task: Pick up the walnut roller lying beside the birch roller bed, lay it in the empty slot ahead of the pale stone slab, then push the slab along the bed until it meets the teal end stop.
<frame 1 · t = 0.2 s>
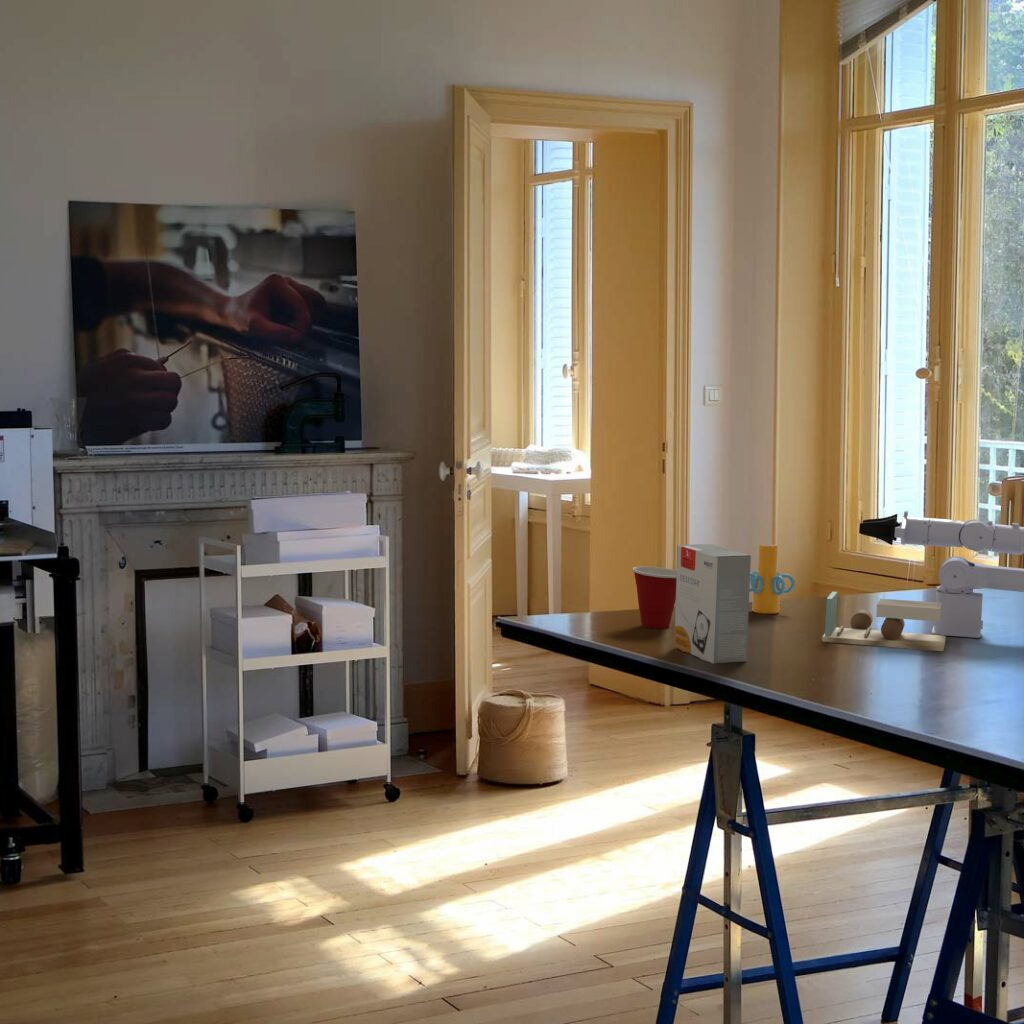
hand: (860, 526, 297), 21 cm above the table, tool horizontal, fingers open, 7 cm apart
cylinder: (765, 612, 315), on the table
hard drive box: (709, 656, 265), on the table
roller bed: (884, 641, 283), on the table
plastic cup: (656, 627, 293), on the table
roller: (861, 630, 295), on the table
slab: (909, 609, 280), point 7 cm above the table, slide at 0.0 cm
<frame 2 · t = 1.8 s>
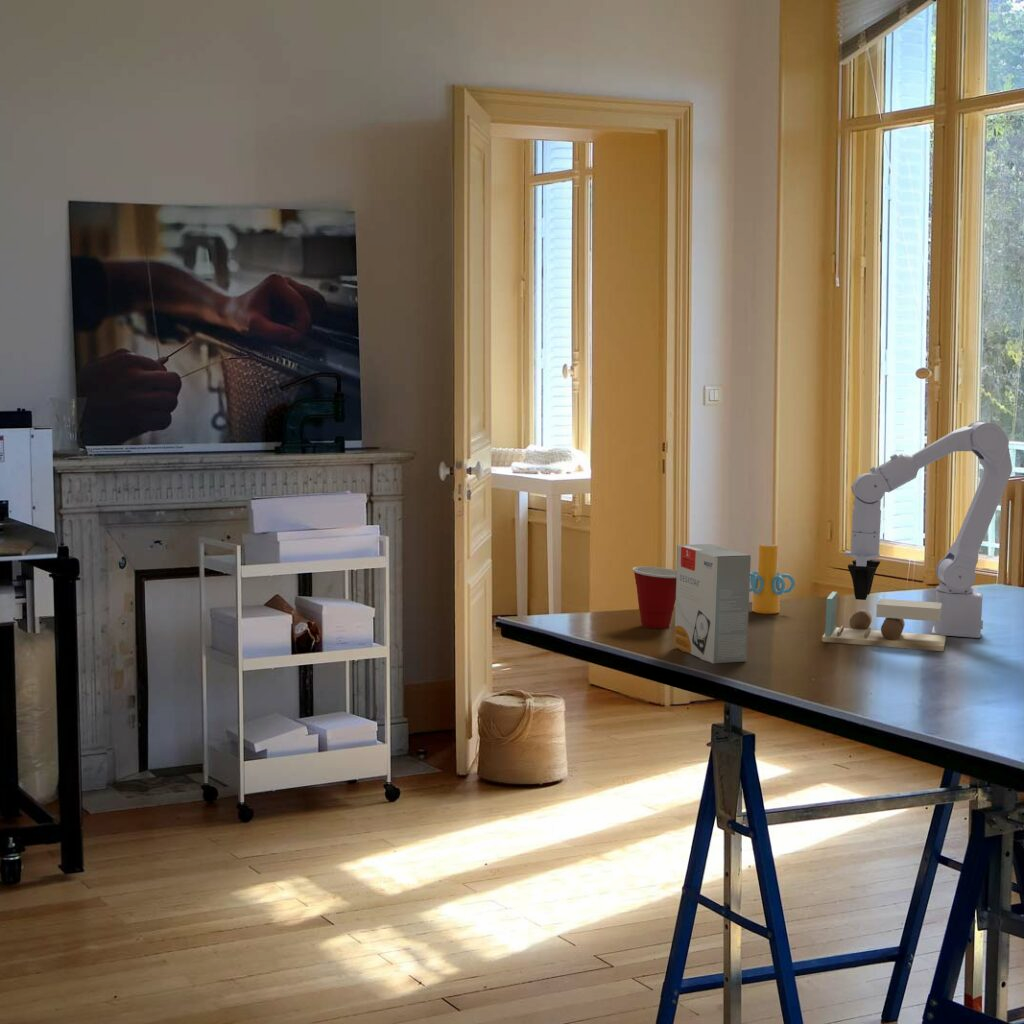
hand: (862, 596, 294), 7 cm above the table, tool pointing down, fingers open, 7 cm apart
roller: (861, 630, 295), on the table, tilted 5°
everything else where it was.
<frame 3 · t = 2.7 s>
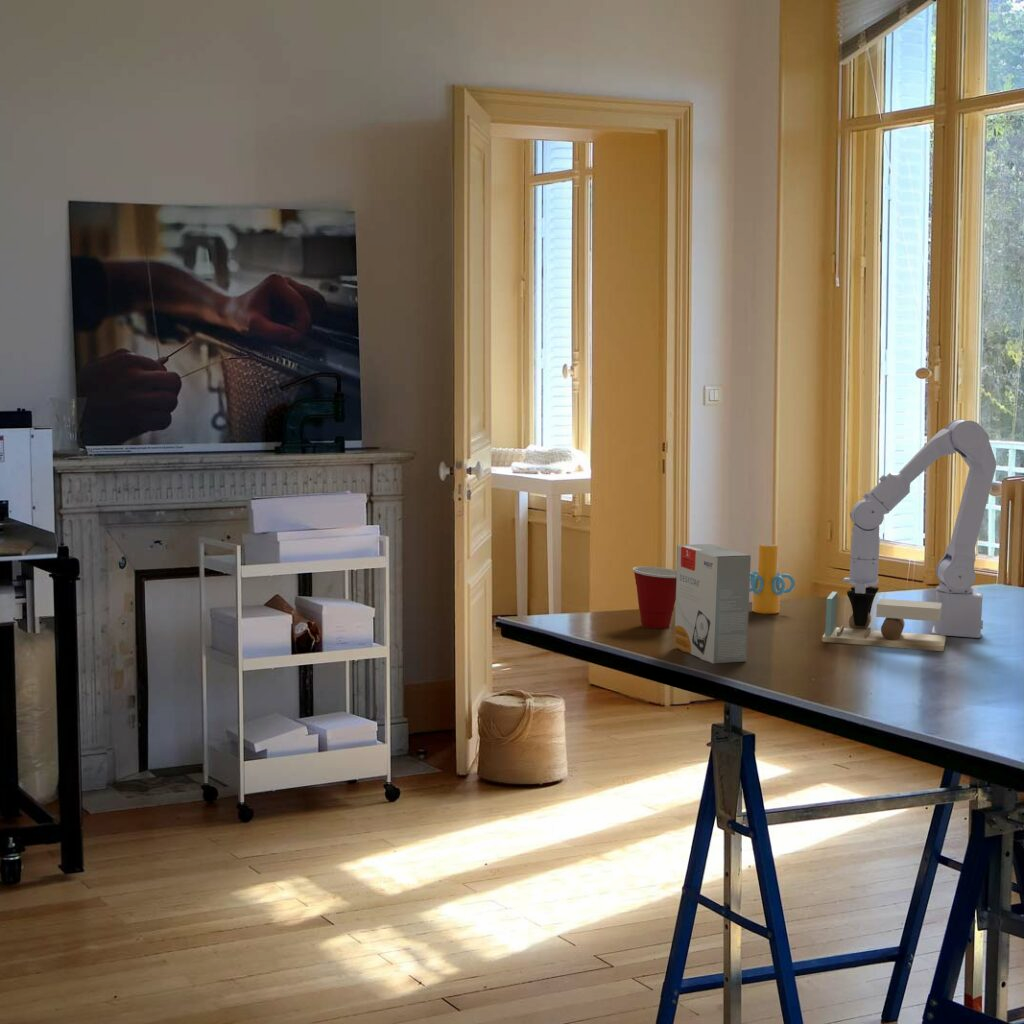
hand: (861, 623, 295), 1 cm above the table, tool pointing down, fingers closed on roller, 6 cm apart
roller: (861, 629, 295), on the table, tilted 9°, touching gripper
everything else where it was.
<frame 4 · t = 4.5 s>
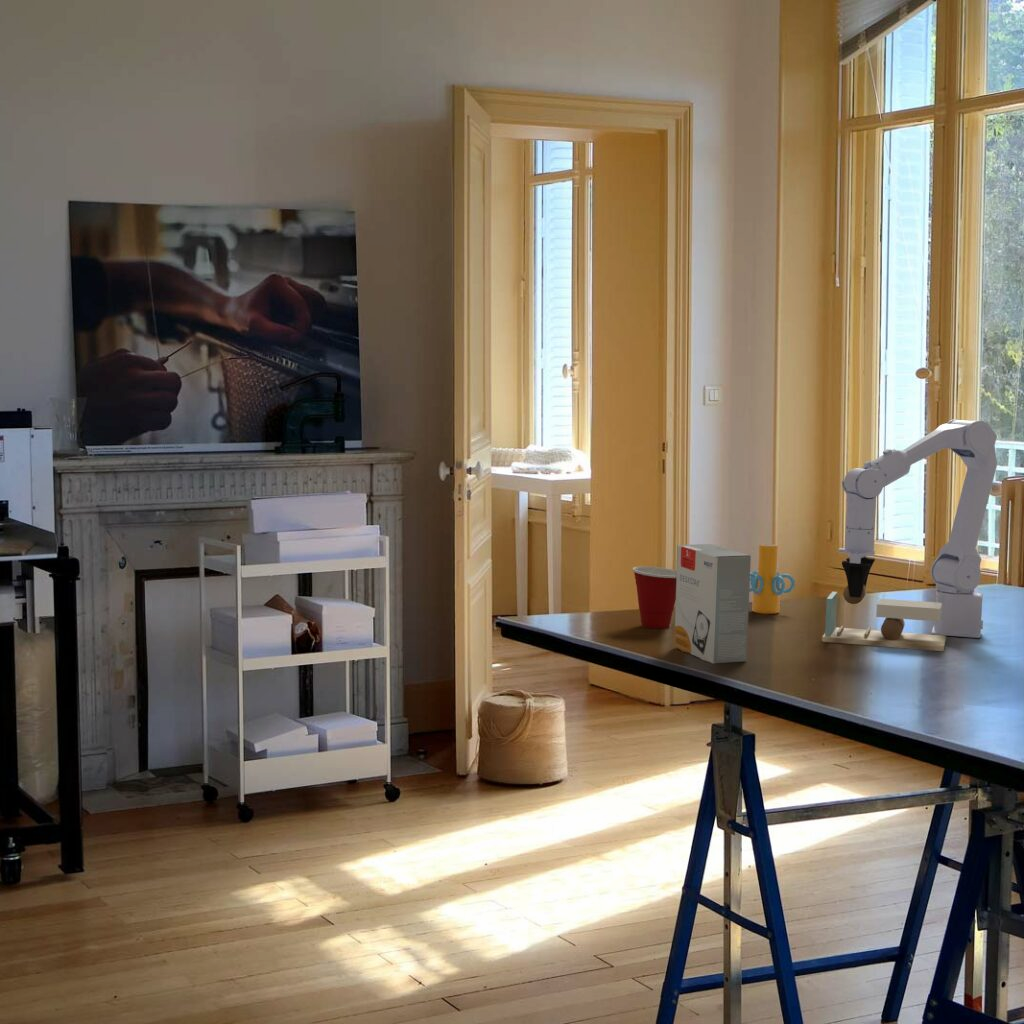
hand: (856, 595, 286), 8 cm above the table, tool pointing down, fingers closed on roller, 6 cm apart
roller: (856, 602, 286), point 7 cm above the table, tilted 9°, touching gripper
everything else where it was.
when the fingers open (4 cm above the table, at t = 6.1 s): roller drops 1 cm, resting on roller bed.
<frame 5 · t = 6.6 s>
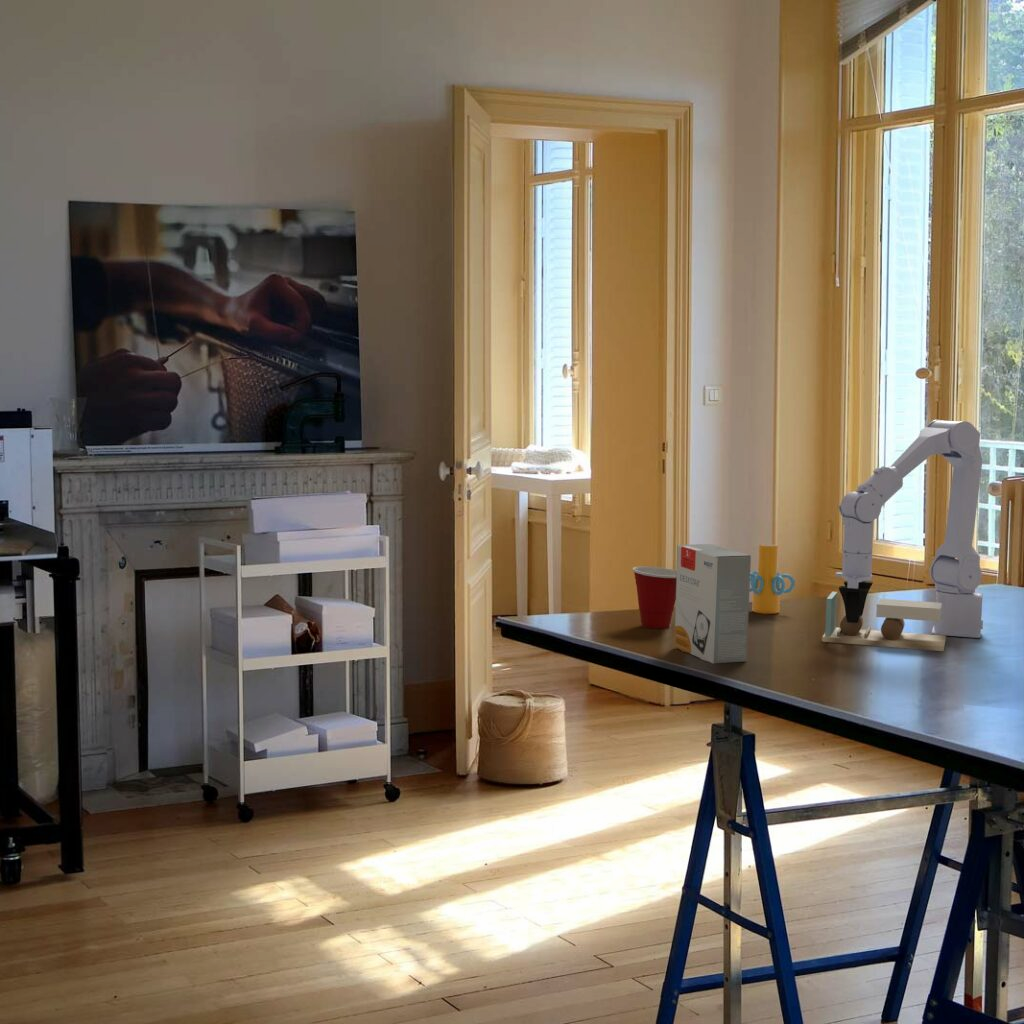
hand: (854, 619, 284), 4 cm above the table, tool pointing down, fingers open, 7 cm apart
roller: (853, 633, 284), point 1 cm above the table, tilted 12°, touching roller bed
everything else where it was.
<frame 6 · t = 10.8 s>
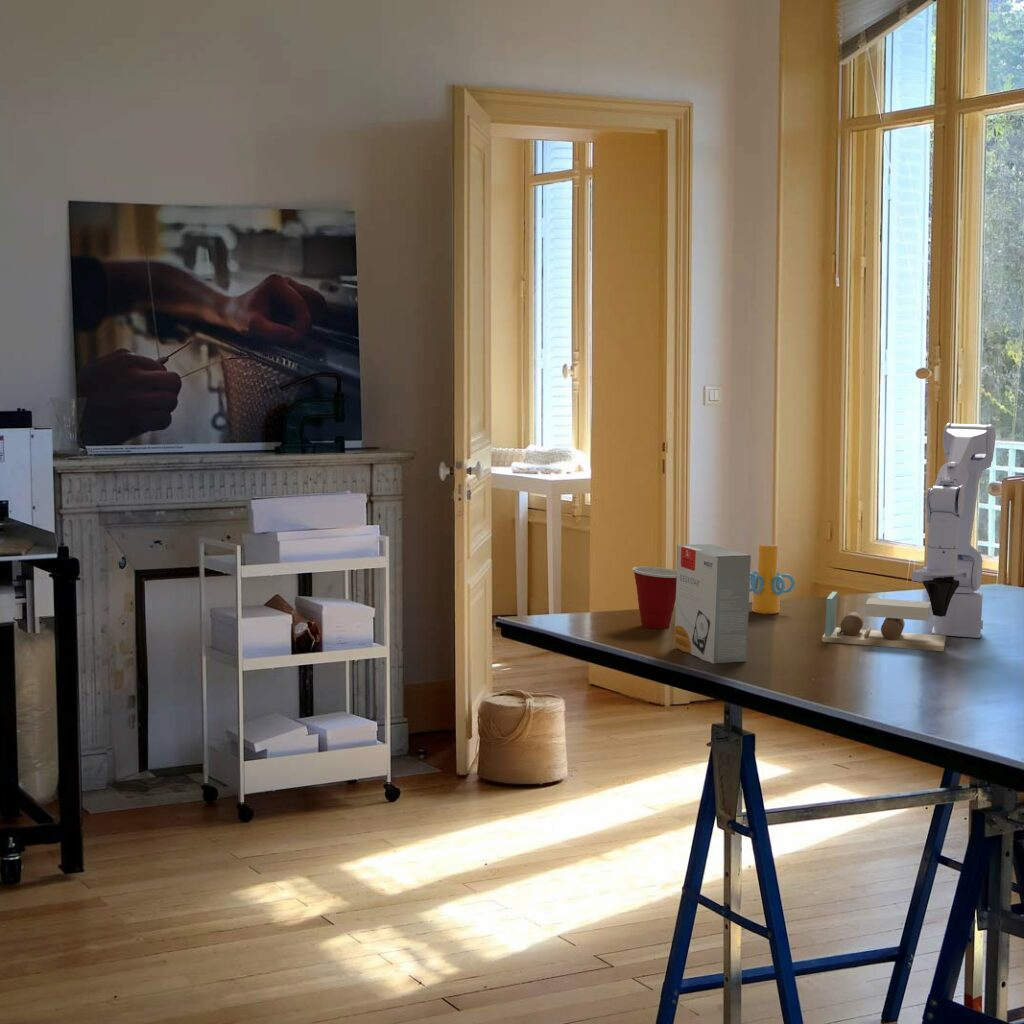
hand: (939, 615, 279), 6 cm above the table, tool pointing down, fingers closed
slab: (898, 609, 281), point 7 cm above the table, slide at 2.2 cm, touching gripper
everything else where it was.
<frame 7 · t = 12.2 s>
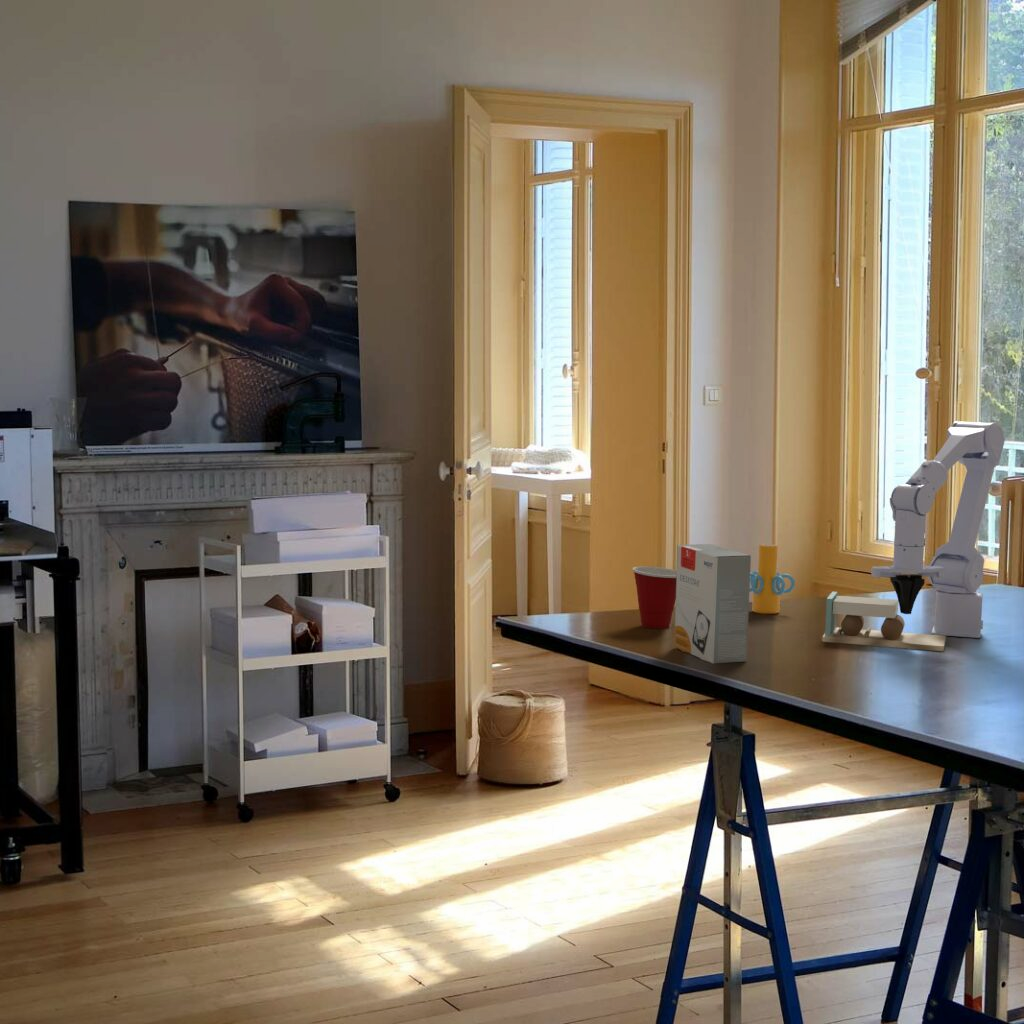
hand: (905, 613, 281), 6 cm above the table, tool pointing down, fingers closed
slab: (865, 606, 283), point 7 cm above the table, slide at 8.4 cm, touching gripper
everything else where it was.
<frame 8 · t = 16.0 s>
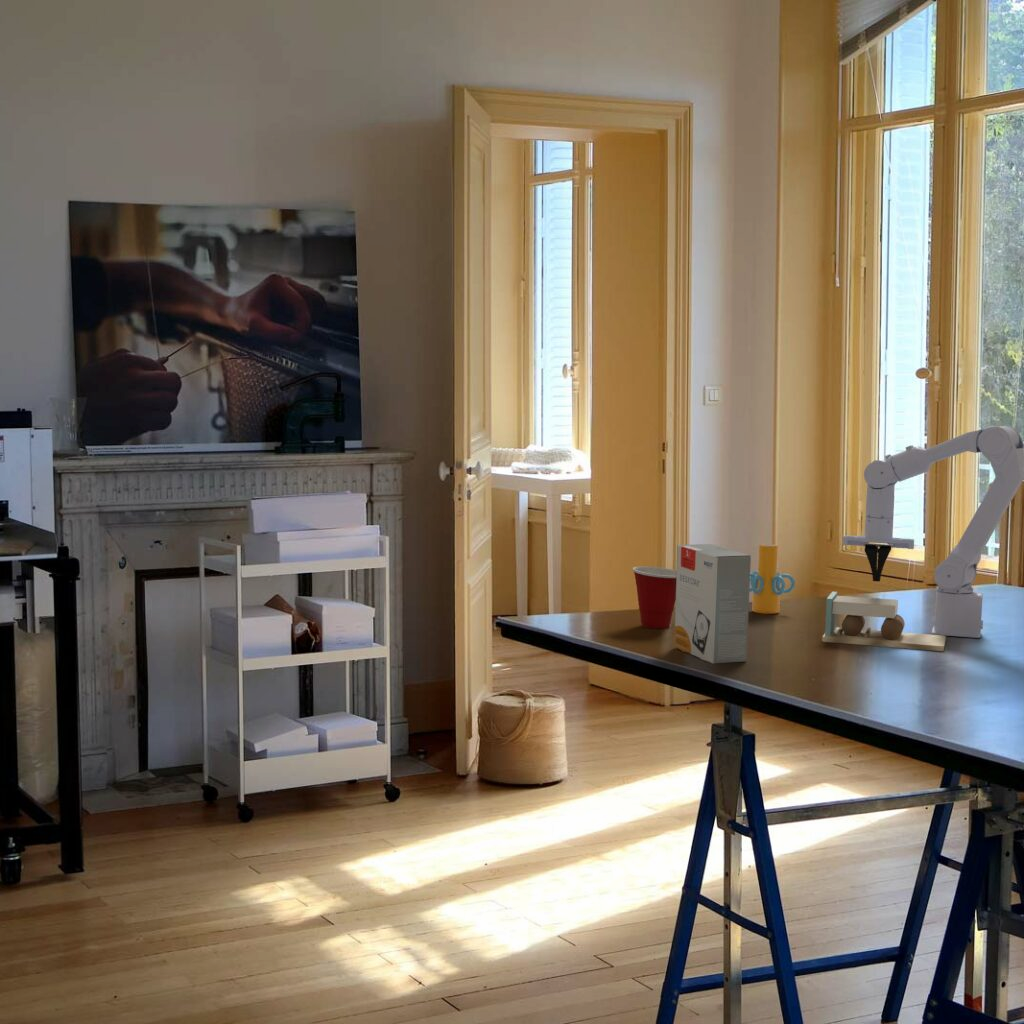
hand: (876, 580, 301), 9 cm above the table, tool pointing down, fingers closed
slab: (865, 606, 283), point 7 cm above the table, slide at 8.5 cm
everything else where it was.
at the end: slab slide at 8.5 cm; roller 0.1 cm from the target spot on the roller bed, point 1.0 cm above the roller bed's base; the gripper is holding nothing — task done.
